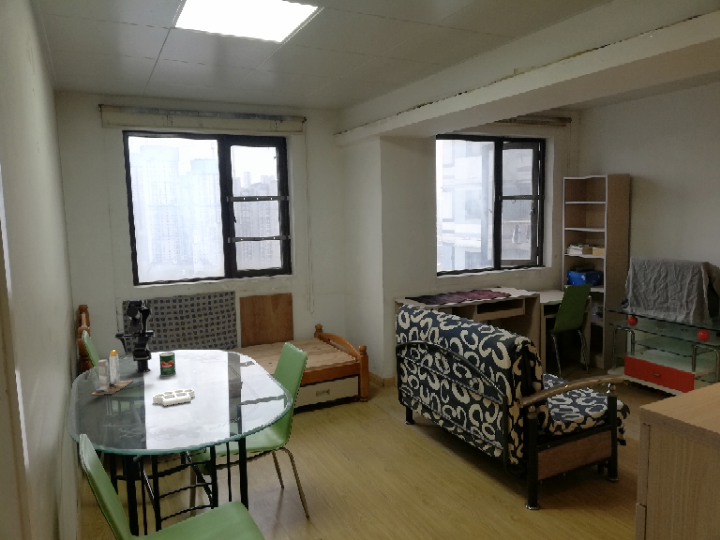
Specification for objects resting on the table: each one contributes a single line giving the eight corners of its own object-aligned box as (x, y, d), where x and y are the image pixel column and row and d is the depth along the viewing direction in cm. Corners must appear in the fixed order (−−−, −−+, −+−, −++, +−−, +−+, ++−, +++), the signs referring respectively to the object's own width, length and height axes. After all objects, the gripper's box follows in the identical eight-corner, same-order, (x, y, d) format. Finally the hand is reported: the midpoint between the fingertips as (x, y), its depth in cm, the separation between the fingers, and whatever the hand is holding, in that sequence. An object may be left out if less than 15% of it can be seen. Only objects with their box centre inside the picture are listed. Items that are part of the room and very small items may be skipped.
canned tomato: (163, 376, 279) (162, 356, 278) (158, 373, 285) (156, 353, 284) (178, 373, 284) (177, 353, 283) (172, 370, 290) (171, 351, 289)
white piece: (156, 409, 229) (151, 400, 242) (198, 402, 238) (191, 393, 251) (155, 401, 229) (151, 393, 242) (197, 394, 238) (191, 386, 250)
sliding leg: (109, 382, 265) (107, 349, 263) (120, 382, 265) (118, 349, 263) (105, 384, 261) (103, 351, 259) (116, 384, 261) (114, 351, 259)
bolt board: (114, 382, 271) (112, 351, 270) (133, 381, 270) (131, 351, 269) (92, 394, 251) (89, 362, 249) (112, 394, 250) (110, 361, 249)
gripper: (113, 319, 267) (112, 349, 262) (152, 317, 272) (152, 347, 267) (117, 325, 277) (117, 354, 272) (155, 322, 282) (155, 351, 277)
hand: (135, 351), depth 272 cm, fingers open, 9 cm apart
